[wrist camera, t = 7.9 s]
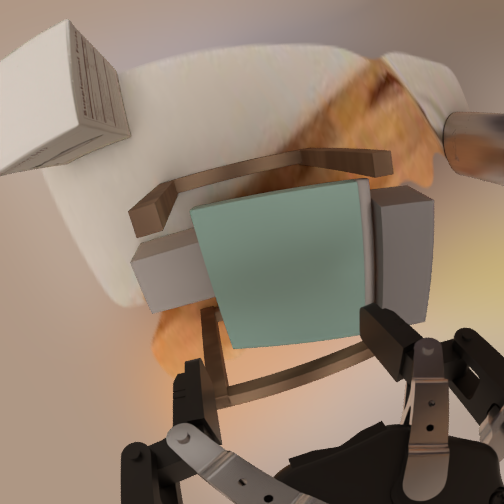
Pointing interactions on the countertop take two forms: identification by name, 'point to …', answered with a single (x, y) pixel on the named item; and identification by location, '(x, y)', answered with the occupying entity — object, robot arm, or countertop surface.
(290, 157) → the frame
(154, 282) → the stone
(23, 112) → the supplement box
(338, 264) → the trapdoor
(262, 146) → the countertop surface
